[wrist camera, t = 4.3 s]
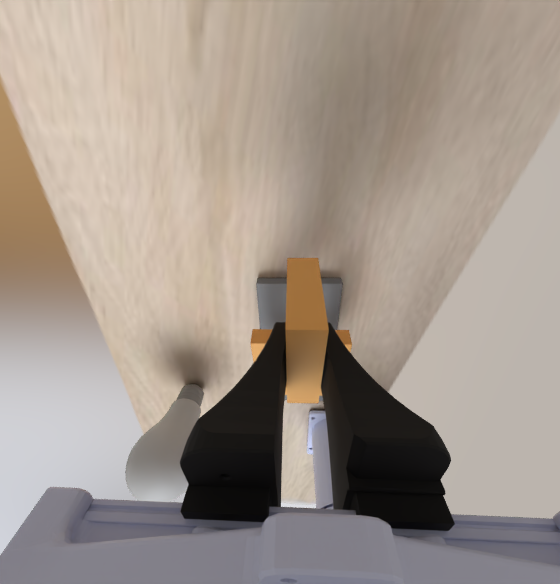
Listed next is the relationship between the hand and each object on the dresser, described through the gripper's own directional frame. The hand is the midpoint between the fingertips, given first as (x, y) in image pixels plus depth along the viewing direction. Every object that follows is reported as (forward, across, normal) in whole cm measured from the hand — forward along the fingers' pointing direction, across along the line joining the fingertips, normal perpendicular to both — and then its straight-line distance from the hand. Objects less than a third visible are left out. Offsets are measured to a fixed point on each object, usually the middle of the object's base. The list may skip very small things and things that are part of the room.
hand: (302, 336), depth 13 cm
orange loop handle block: (+3, 0, +2) cm, 4 cm away
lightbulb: (+9, +12, +15) cm, 21 cm away
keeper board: (+9, 0, +8) cm, 12 cm away
